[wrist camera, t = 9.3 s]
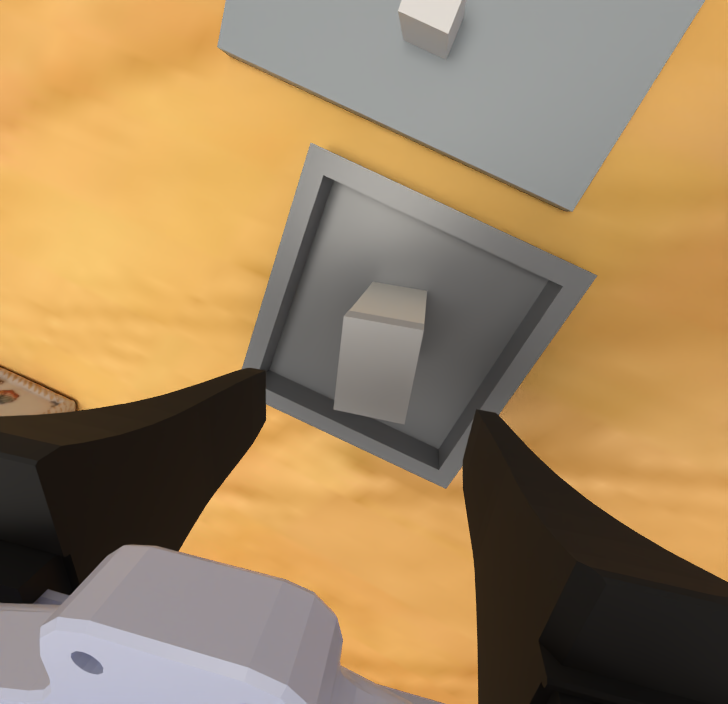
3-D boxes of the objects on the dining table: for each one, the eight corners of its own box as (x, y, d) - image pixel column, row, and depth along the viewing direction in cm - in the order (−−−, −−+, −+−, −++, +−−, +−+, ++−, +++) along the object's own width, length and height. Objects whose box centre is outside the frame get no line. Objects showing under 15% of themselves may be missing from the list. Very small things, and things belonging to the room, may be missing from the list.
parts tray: (577, 267, 18) (597, 275, 16) (444, 461, 24) (446, 488, 22) (326, 150, 18) (310, 142, 16) (254, 372, 24) (235, 389, 22)
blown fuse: (427, 290, 19) (423, 330, 13) (413, 358, 21) (404, 424, 15) (373, 281, 20) (343, 316, 13) (363, 349, 21) (333, 409, 15)
